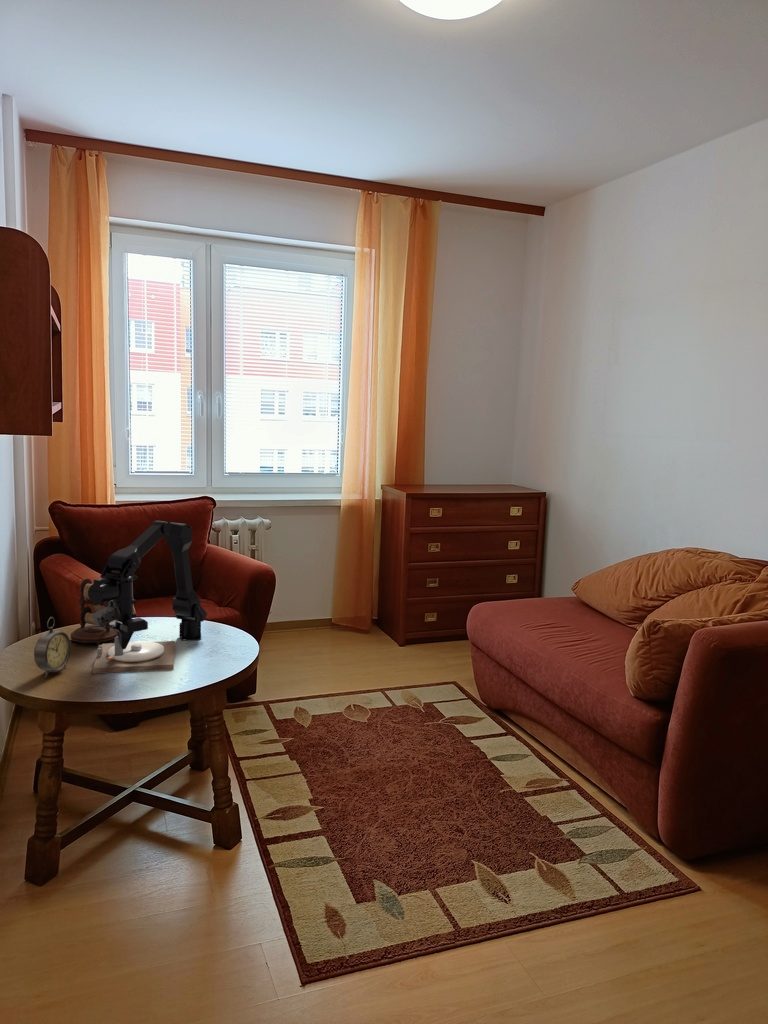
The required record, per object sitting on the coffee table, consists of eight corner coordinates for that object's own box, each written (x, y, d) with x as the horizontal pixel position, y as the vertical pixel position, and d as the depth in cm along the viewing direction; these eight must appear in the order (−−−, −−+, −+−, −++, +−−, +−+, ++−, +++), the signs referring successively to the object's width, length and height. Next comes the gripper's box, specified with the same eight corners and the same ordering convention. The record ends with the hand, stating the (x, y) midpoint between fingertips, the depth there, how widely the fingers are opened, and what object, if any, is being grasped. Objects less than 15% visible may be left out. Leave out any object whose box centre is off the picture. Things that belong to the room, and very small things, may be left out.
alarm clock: (47, 680, 197) (46, 623, 195) (30, 678, 198) (29, 621, 196) (72, 667, 208) (71, 613, 206) (56, 665, 209) (55, 611, 207)
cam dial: (142, 641, 228) (142, 622, 228) (175, 652, 219) (175, 632, 218) (92, 654, 214) (92, 634, 213) (125, 667, 205) (125, 646, 204)
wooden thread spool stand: (129, 636, 238) (128, 577, 236) (100, 649, 224) (99, 587, 221) (91, 630, 242) (90, 572, 239) (60, 643, 228) (59, 582, 225)
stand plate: (175, 645, 231) (175, 633, 230) (173, 669, 210) (173, 656, 209) (102, 648, 225) (101, 636, 225) (92, 673, 204) (92, 659, 204)
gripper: (81, 595, 209) (82, 647, 211) (110, 607, 196) (111, 662, 198) (117, 589, 217) (119, 640, 219) (148, 600, 204) (149, 654, 206)
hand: (123, 649), depth 210 cm, fingers closed
